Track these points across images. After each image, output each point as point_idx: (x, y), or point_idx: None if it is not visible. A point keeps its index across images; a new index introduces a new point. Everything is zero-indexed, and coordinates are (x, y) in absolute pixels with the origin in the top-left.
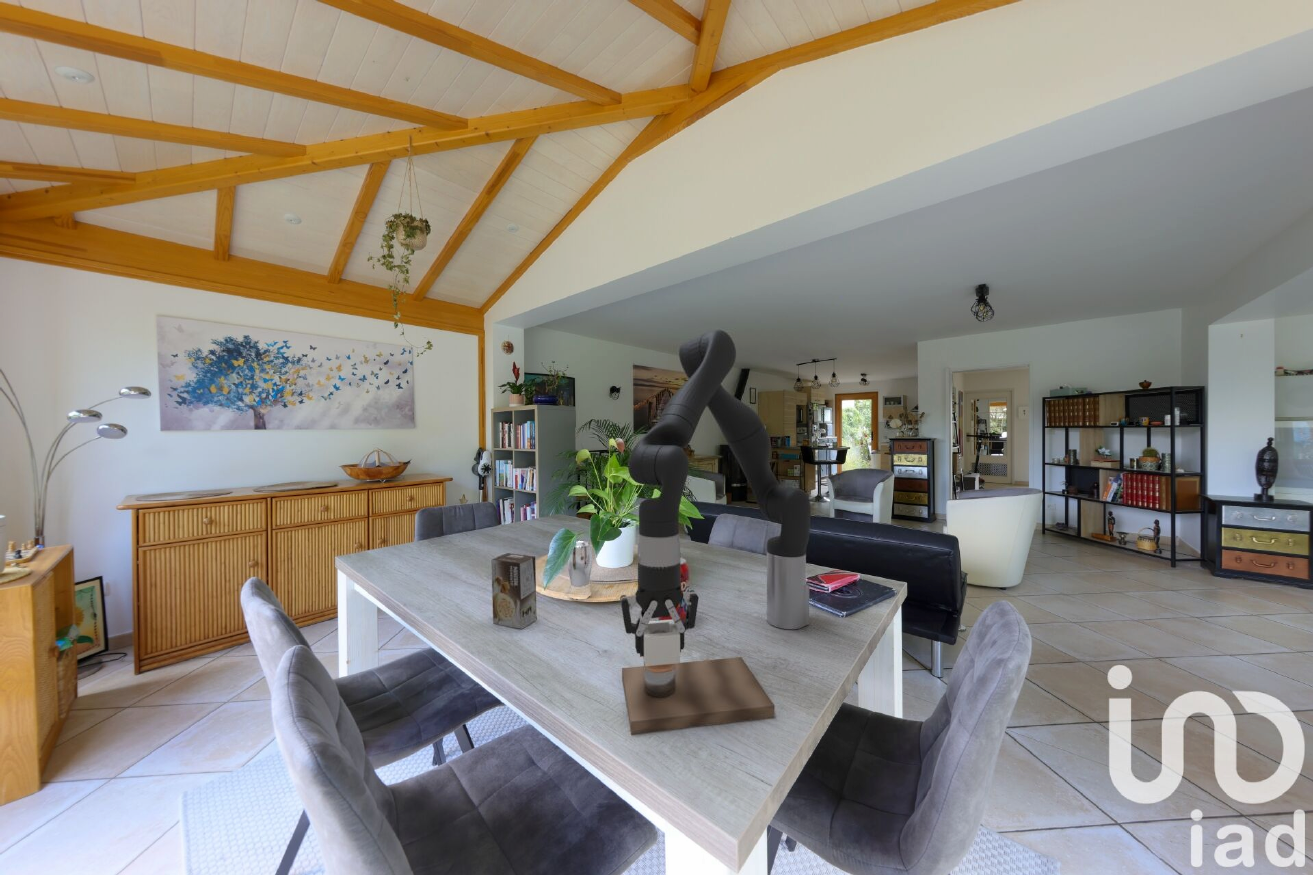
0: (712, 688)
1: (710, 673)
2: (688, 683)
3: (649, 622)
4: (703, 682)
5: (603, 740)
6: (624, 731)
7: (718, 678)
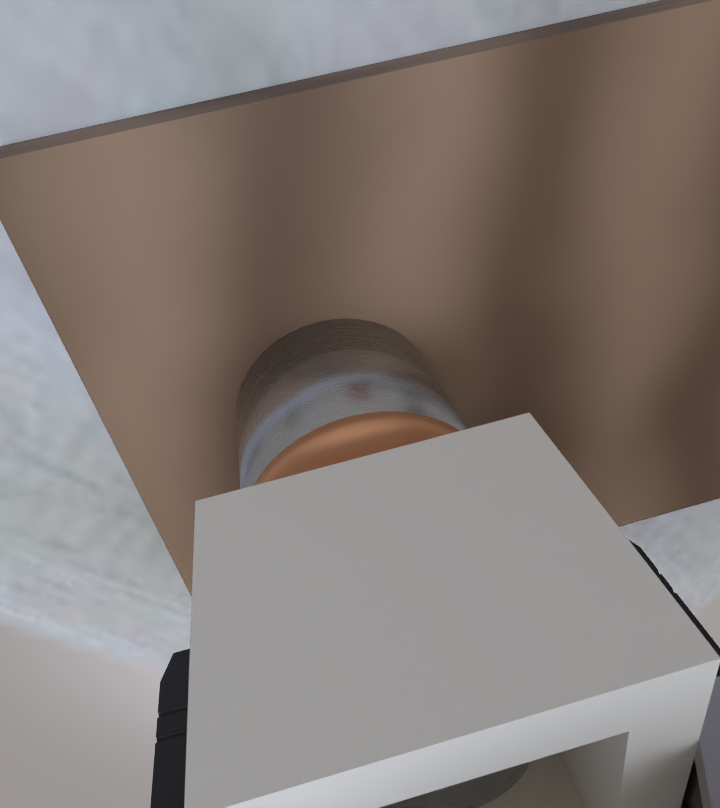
0: (641, 374)
1: (692, 214)
2: (519, 340)
3: (337, 794)
4: (612, 321)
5: (105, 637)
6: (181, 587)
7: (716, 273)
